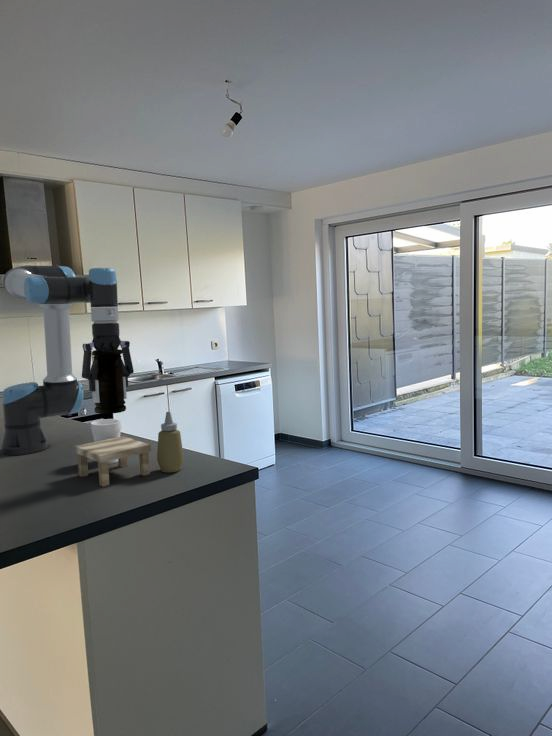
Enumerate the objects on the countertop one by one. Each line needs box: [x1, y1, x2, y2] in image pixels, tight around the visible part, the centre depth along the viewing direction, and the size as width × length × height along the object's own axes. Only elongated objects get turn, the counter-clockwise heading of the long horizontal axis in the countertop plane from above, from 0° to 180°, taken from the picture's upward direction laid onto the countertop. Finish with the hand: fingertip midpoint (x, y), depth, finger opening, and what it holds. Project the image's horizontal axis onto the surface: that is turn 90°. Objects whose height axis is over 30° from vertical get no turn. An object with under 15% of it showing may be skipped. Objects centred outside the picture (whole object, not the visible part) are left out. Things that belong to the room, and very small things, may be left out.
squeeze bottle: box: [156, 411, 185, 473], centre depth 166 cm, size 8×8×18 cm
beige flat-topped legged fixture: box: [74, 435, 152, 487], centre depth 164 cm, size 16×16×9 cm
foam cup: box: [90, 418, 122, 465], centre depth 178 cm, size 10×9×13 cm
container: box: [91, 348, 127, 415], centre depth 161 cm, size 9×9×18 cm
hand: (109, 400), depth 161 cm, fingers closed on container, 8 cm apart
